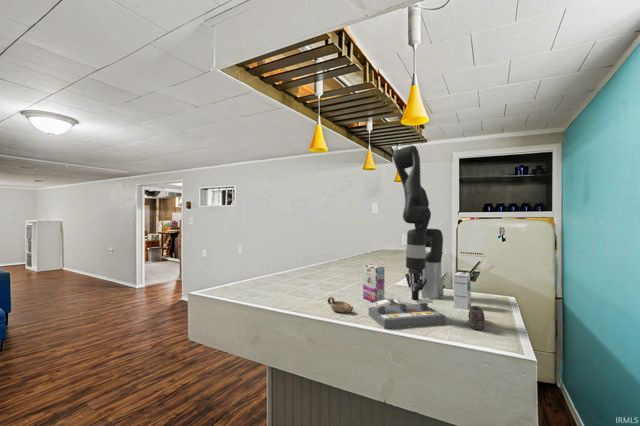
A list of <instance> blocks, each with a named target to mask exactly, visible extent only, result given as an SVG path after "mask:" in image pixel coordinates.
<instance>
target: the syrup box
mask: <svg viewBox="0 0 640 426" xmlns="http://www.w3.org/2000/svg"><path fill="white" fill-rule="evenodd" d="M452 276H453V278H452V279H453V281H452V282H453V307H454V308H459V309H466V310H468V309H469V308H471V307H472V303H471V302H472V300H471V298H472V296H471V295H472V294H471V291H472V290H471V273H469V272H462V271H461V272H460V271H459V272H456V273H454V274H453V275H452Z"/></svg>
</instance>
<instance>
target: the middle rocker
mask: <svg viewBox="0 0 640 426" xmlns="http://www.w3.org/2000/svg"><path fill="white" fill-rule="evenodd" d="M393 302H394V303H396V304H404V305H410V306H412V304H413V302H410V301H409V300H405V299H400V298H394V299H393Z"/></svg>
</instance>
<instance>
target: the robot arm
mask: <svg viewBox="0 0 640 426" xmlns="http://www.w3.org/2000/svg"><path fill="white" fill-rule="evenodd" d="M392 158H393V163H394V165H395V167H396V171H397V174H398V176H399V178H400V181H401V184H402V188H403V190H404V191H403V193H404V198H405V199H404V209H403V212H402V219H403V221H404V222H405V223H407V224H414V229H409V230H408V231H407V234H406V250H405V253H406V254H405V267H406V268H407V269H408V273H406V274H405V279H406V281H407V286H408V288H410V290H411V300H412V301H414V302H415V301H417V300H419V295H420V292H421V297H422V298H429V299H431V300H434V299H441V298H444V278H443V277H442V258H443V247H444V246H443V245H444V236H443V232H442V230H441V229H439V228H428V226H429V223H430V221H431V216H432V212H431V209H430V208H429V206H430V205H429V204H430V201H429V198H428V195H427V192H426V190H425V189H424V187H422V184H421V159H420V154H419V150H418V148H417V146H416V145H409V146H406V147H403V148H400V149H396V150H393V152H392ZM409 168H411V170H410V172H409V173H408V172H407V170H406V169H409ZM427 248H429V249H430V250H429V252H428V253H427Z"/></svg>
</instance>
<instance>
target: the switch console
mask: <svg viewBox="0 0 640 426" xmlns="http://www.w3.org/2000/svg"><path fill="white" fill-rule="evenodd" d="M428 304H429V303H421V304H419V303H416V304H415V303H412V306H410V305H404V304H399V305H386V306H382V307H379V308H375V307H374V306H372V307H371V306H370V307H368V315H369V317H371V318H372V319H373V320H374V321H375V322H376V323H377V322H378V323H377V324H379V326H381V327H382V326H383V327H384V328H387V329H395V328H394V327H399V328H407V327H408V326H411V327H422V326H423V327H424V326H433V325H442V324H443V325H444V324H445V325H446V315H445V314H443V313H441V312H439V311H438V310H436V309H434V308H432V307H430V306H428ZM383 327H382V328H383ZM384 328H383V329H384Z"/></svg>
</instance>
